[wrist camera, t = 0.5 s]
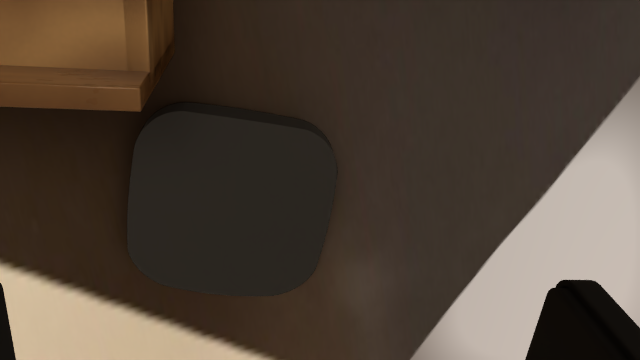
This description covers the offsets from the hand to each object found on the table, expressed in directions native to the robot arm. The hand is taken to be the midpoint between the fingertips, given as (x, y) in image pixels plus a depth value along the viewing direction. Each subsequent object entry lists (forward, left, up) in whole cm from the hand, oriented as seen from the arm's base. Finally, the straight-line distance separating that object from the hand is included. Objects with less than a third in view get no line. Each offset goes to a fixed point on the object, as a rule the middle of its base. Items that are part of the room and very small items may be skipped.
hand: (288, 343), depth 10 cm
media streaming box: (+13, -2, -32) cm, 35 cm away
